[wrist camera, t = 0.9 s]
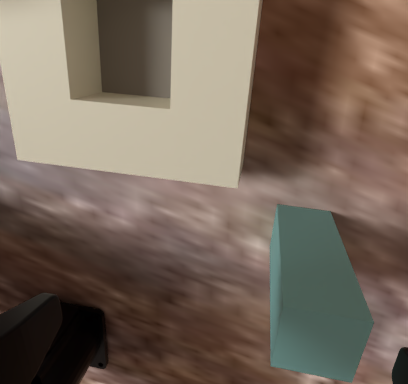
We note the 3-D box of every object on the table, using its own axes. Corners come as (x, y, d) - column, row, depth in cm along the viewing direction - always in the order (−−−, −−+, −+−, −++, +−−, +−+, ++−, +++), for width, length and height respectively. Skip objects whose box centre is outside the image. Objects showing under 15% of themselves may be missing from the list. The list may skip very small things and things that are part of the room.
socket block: (243, 163, 19) (237, 188, 16) (60, 141, 21) (17, 159, 18) (273, -88, 15) (274, -135, 11) (32, -91, 16) (-35, -132, 13)
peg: (319, 255, 21) (351, 382, 13) (269, 247, 21) (270, 366, 13) (330, 211, 20) (374, 322, 12) (277, 204, 20) (283, 306, 12)
